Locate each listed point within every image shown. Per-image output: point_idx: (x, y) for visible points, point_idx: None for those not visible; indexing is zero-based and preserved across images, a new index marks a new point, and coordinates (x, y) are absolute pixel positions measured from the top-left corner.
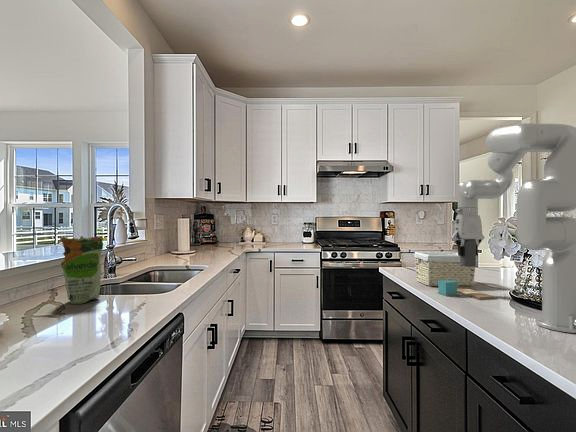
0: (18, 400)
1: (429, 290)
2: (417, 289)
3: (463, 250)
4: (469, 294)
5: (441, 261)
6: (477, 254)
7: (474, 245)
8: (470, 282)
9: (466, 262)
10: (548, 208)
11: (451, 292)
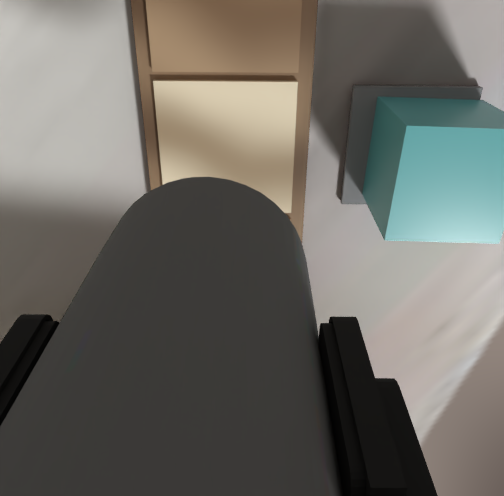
0: None
1: (431, 290)
2: (483, 330)
3: (375, 395)
4: (299, 43)
5: None
6: (20, 325)
7: (64, 454)
8: None
9: (286, 238)
10: None
11: (437, 102)
